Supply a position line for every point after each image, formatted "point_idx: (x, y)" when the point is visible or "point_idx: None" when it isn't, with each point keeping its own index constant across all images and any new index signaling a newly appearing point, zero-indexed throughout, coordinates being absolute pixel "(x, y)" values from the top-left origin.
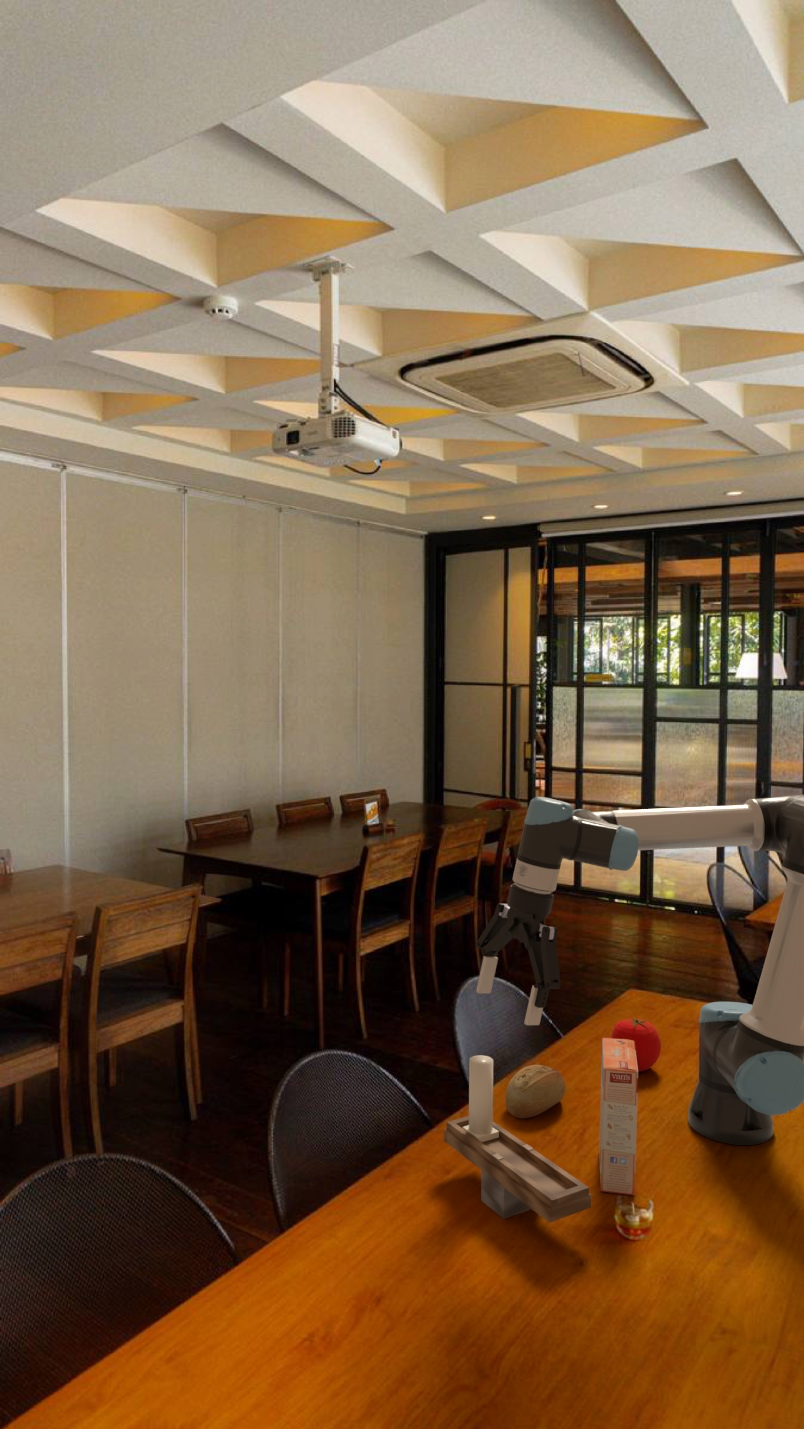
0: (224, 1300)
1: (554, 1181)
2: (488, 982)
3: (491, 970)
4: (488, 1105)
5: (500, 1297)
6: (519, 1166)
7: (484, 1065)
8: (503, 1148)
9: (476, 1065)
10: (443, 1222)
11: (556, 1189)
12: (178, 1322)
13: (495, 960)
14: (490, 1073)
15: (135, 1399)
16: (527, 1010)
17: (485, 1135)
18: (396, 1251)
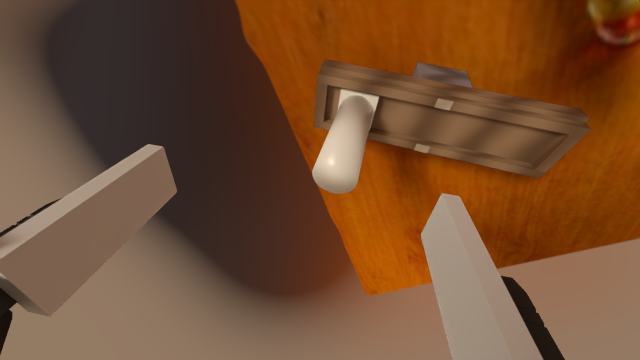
0: (357, 256)
1: (514, 126)
2: (139, 190)
3: (91, 225)
4: (367, 136)
5: (495, 199)
6: (448, 128)
7: (354, 187)
8: (402, 108)
9: (343, 192)
10: (394, 161)
11: (525, 139)
12: (356, 267)
13: (23, 261)
14: (360, 166)
15: (383, 288)
16: (433, 274)
17: (372, 118)
18: (392, 201)
